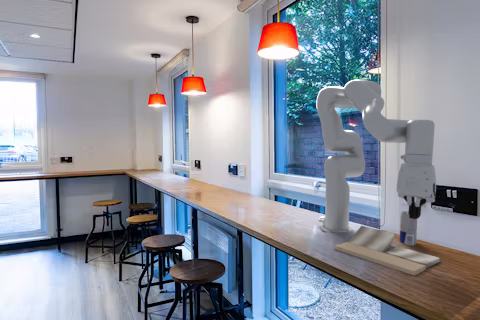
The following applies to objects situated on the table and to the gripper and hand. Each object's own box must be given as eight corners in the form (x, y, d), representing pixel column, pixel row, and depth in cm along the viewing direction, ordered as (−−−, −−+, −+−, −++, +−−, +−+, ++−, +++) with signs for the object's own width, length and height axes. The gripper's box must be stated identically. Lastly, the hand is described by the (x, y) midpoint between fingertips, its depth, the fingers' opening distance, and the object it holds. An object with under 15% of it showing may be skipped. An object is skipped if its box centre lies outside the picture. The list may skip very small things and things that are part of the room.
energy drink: (401, 242, 120) (402, 210, 119) (417, 245, 116) (418, 212, 115) (397, 245, 115) (399, 212, 115) (414, 249, 112) (415, 215, 111)
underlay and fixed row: (330, 253, 107) (330, 246, 107) (366, 241, 120) (366, 236, 119) (410, 281, 86) (410, 273, 86) (443, 263, 99) (443, 256, 99)
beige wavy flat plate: (349, 244, 113) (348, 242, 112) (362, 228, 117) (361, 225, 116) (383, 255, 103) (382, 252, 102) (395, 236, 107) (394, 233, 106)
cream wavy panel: (384, 255, 102) (384, 252, 102) (399, 250, 108) (399, 246, 107) (426, 268, 92) (426, 264, 92) (439, 261, 98) (439, 257, 98)
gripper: (388, 158, 103) (385, 214, 104) (439, 162, 91) (434, 225, 92) (400, 157, 107) (396, 211, 109) (450, 161, 95) (445, 221, 97)
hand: (414, 218), depth 101 cm, fingers closed
